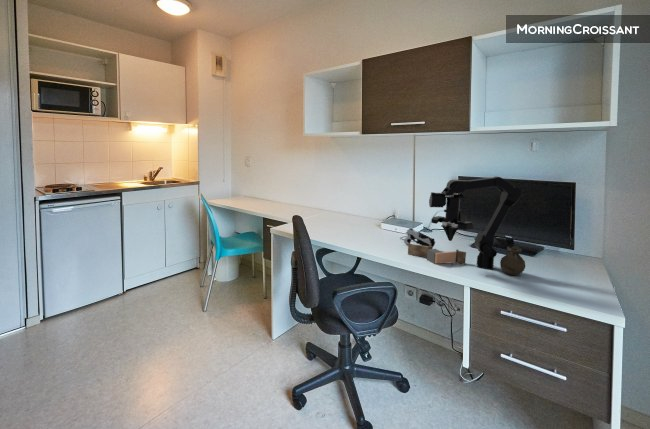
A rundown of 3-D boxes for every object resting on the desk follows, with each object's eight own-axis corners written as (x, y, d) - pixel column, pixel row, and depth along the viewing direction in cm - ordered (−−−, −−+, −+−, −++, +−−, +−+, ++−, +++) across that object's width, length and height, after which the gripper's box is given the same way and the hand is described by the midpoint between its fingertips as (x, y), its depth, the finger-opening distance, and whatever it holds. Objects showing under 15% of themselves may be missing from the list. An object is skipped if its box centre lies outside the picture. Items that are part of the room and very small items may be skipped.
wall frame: (465, 262, 166) (466, 250, 165) (464, 263, 164) (465, 251, 163) (408, 253, 180) (409, 242, 179) (407, 254, 179) (408, 243, 177)
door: (454, 261, 167) (454, 251, 166) (455, 261, 166) (456, 251, 165) (434, 263, 164) (435, 253, 163) (435, 263, 163) (436, 253, 162)
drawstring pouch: (515, 269, 156) (518, 244, 154) (529, 277, 147) (532, 250, 145) (495, 270, 156) (497, 244, 154) (506, 277, 147) (509, 250, 144)
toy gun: (428, 256, 188) (435, 240, 185) (402, 242, 197) (407, 227, 194) (430, 255, 190) (436, 239, 186) (403, 242, 199) (409, 226, 195)
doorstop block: (426, 260, 170) (427, 249, 169) (434, 259, 171) (435, 248, 170) (434, 263, 164) (434, 252, 163) (442, 263, 165) (442, 252, 164)
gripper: (481, 209, 154) (478, 242, 157) (446, 203, 169) (444, 234, 172) (466, 211, 148) (464, 246, 150) (431, 205, 163) (429, 237, 166)
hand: (450, 240), depth 160 cm, fingers closed
